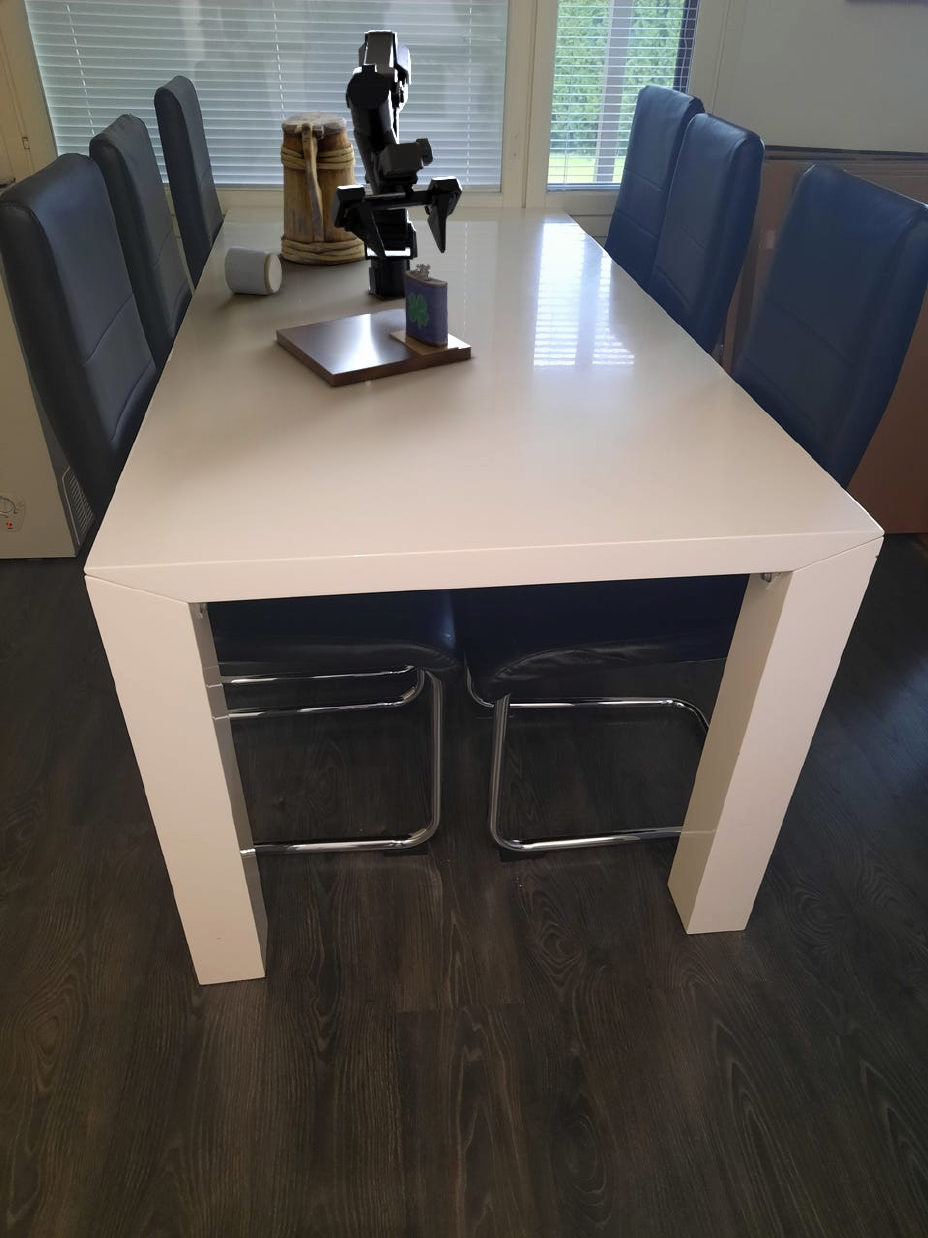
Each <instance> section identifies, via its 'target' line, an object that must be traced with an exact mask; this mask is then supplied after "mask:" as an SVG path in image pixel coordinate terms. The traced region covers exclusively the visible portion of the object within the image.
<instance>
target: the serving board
mask: <svg viewBox="0 0 928 1238" xmlns="http://www.w3.org/2000/svg"><path fill="white" fill-rule="evenodd" d="M275 335H276V341H277V342H276V343H279V344H280V345H281V346H282V347H283V348H285V349H286V350H287V351H288V352H289V353H291V354H292V355H293V356H295V357H296V359H298V360H299V361H300V362H302V363H303V364H305V365H306V366H307V367H308V368H309V369H310V370H312V371H314V373H316V374H317V375H318V376H320V378H322V379H324V380H325V381H326V382H327V383H329V384H330V386H332V387H333V388H336V387H341V386H345V385H351V384H355V383H360V382H364V381H371V380H375V379H378V378H383V377H388V376H393V375H398V374H403V373H408V372H413V371H417V370H421V369H426V368H431V367H436V366H441V365H446V364H450V363H456V362H459V361H464V360H469V359H472V346H471V345H469V344H468V343H465V342H464V341H462V340H460V339H458V338H456V337H455V336H453V335H451V334H450V333H448V340H449V343H448V346H445V345H444V344H442V345H443V346H445V347H444V348H437V347H431V346H430V345H427V344H424V343H421V342H419V341H416V340H413V339H412V338H410V337H408V336H407V335H406V316H405V308H404V307H401V308H394V309H389V310H383V311H377V312H372V313H366V314H360V315H355V316H349V317H344V318H337V319H331V320H327V321H320V322H315V323H314V322H313V323H309V324H303V325H298V326H293V327H287V328H280V329H276V330H275Z"/></svg>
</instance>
